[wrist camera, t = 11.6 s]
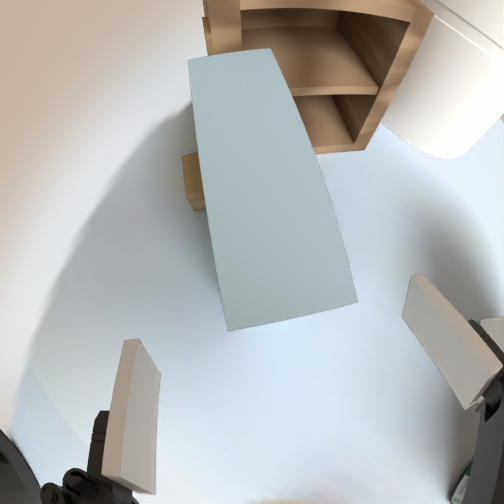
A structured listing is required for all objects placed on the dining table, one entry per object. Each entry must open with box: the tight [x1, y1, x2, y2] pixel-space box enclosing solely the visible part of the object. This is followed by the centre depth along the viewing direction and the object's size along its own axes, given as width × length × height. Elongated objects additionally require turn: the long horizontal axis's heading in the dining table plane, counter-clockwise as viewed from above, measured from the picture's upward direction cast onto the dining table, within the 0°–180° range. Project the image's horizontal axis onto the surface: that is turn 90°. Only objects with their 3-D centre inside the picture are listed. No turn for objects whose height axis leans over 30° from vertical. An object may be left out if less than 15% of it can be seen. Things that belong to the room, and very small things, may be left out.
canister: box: [381, 0, 504, 158], centre depth 17 cm, size 16×16×20 cm
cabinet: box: [182, 0, 434, 211], centre depth 17 cm, size 16×14×16 cm
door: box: [188, 48, 358, 331], centre depth 16 cm, size 4×12×13 cm, turn 11°
